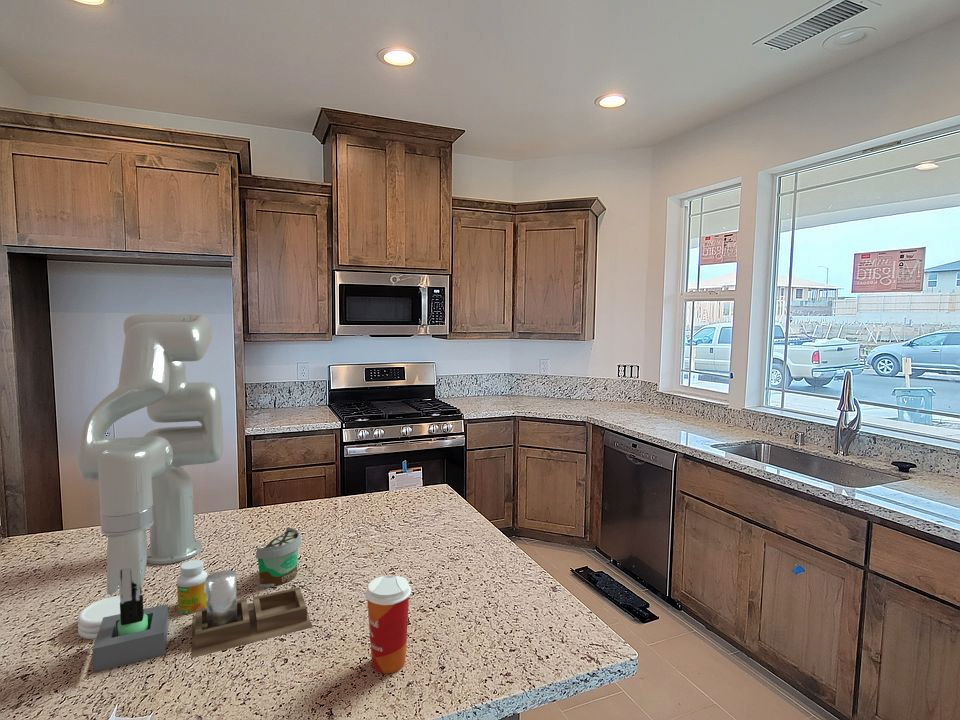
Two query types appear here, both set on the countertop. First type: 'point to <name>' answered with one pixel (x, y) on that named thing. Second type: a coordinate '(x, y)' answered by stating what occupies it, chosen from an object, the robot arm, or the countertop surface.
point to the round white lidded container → (97, 616)
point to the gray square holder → (130, 640)
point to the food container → (279, 559)
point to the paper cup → (388, 622)
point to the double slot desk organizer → (252, 622)
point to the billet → (221, 598)
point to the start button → (133, 626)
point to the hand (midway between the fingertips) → (132, 620)
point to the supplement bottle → (191, 587)
